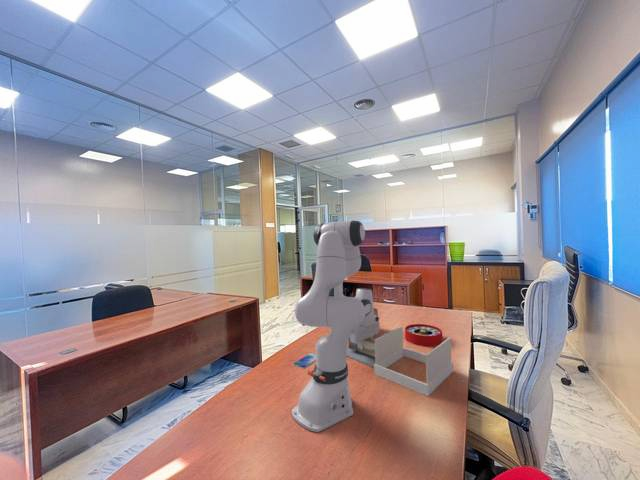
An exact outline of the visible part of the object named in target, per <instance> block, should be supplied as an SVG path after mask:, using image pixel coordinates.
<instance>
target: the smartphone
mask: <svg viewBox="0 0 640 480" xmlns="http://www.w3.org/2000/svg"><path fill="white" fill-rule="evenodd" d="M314 363H316V352H310V353H308V354H306V355H304V356H303V357H301V358H299V360H297V361H295V362H294V363H293V364H292V366H295V367H297V368H300V369H307V368H308V367H309V366H311V365H312V364H314Z"/></svg>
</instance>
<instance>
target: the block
mask: <svg viewBox="0 0 640 480" xmlns="http://www.w3.org/2000/svg"><path fill="white" fill-rule="evenodd" d="M362 344H363V345H364V349H360V347H359V344H358V343H357V344H355V343H352V342H351V341H350V337H349V339H348V348H349V349H352V350H355V351H360V352H363V353H365V354H368V355H371V356H374V357H375V338H373V339H371V338H368V339H366V340H363V343H362Z"/></svg>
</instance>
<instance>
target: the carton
mask: <svg viewBox="0 0 640 480" xmlns="http://www.w3.org/2000/svg"><path fill="white" fill-rule="evenodd" d="M403 332H404V331H403V325H400V326H399V327H395V328H394V329H393V330H390V331H388V332H385V333H384V334H382V335H380V336H379V337H377V338H374V340H375V364H374V367H373V374H374V375H376V376H379V377H381V378H384V379H386V380H388V381H390V382H393V383H395V384H397V385H399V386H403V387H405V388H407V389H410V390H412V391H414V392H417V393H419V394H421V395H424V396H426V397H429V396H430V395H431V394H432V393H433V392H434V391H436V389H437V388H438V387H439V386H440V384H442V383H443V382H444V381H445V380H446V379H447V378H448V377H450V375H451V374H452V373H453V372H454V363H453V361H452V339H451V338H452V337H448V338H447V339H445V340H444V341H442V343H441V344H440V345H438V346H435V347H434V348H433V349H432V350H431V351H429V352H428V353H424V352H421V351H416V350H414V349H411V348H407V347H404V339H403V338H404V337H403V335H404V334H403ZM403 357H405V358H409V359H411V360H414V361H418V362H420V363H423V364H425V366H426V369H425V370H426V373H425V374H426V377H425V378H426V383H425V382H424V381H421V380H418V379H415V378H413V377H410V376H408V375H405V374H403V373H400V372H398V371H395V370H393V369H392V370H391V369H389V368H388V367H390V366H391V365H393V364H394V363H396V362H397V361H398V360H400V359H402V358H403Z"/></svg>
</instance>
